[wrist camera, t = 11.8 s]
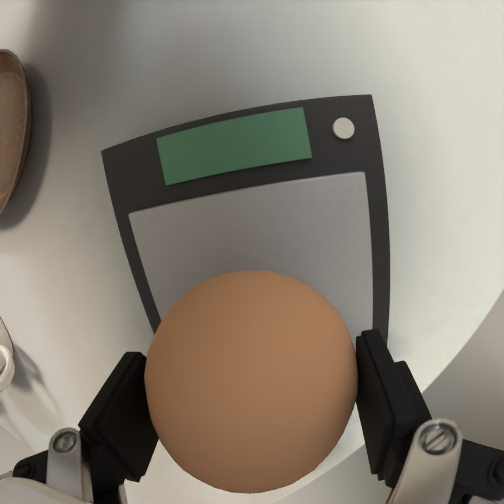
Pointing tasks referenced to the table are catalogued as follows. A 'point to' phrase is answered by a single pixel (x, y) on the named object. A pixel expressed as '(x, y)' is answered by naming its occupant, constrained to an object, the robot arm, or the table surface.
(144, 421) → the robot arm
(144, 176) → the scale
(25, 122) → the saucer
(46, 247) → the table surface
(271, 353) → the egg
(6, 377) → the mug
